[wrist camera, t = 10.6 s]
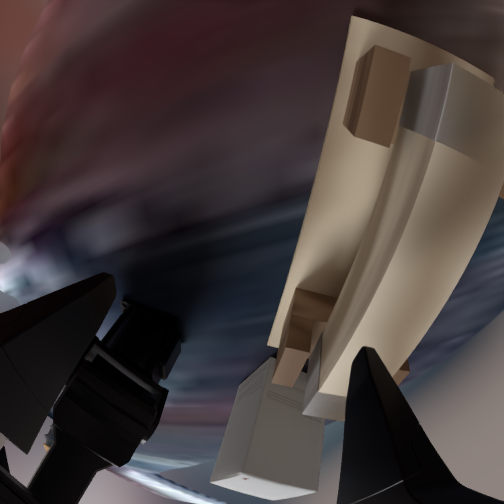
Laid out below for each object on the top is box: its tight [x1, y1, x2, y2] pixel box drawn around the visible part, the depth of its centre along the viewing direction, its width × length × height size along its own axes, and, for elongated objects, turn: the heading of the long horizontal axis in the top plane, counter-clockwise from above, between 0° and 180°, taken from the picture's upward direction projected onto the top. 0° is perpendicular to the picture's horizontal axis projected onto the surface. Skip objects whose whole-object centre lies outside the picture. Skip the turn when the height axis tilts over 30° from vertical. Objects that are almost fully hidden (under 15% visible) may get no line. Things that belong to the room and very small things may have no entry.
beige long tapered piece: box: [267, 16, 504, 388], centre depth 16 cm, size 10×26×7 cm, turn 170°
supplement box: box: [210, 357, 325, 500], centre depth 24 cm, size 7×7×13 cm
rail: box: [302, 63, 504, 421], centre depth 14 cm, size 4×20×5 cm, turn 170°
